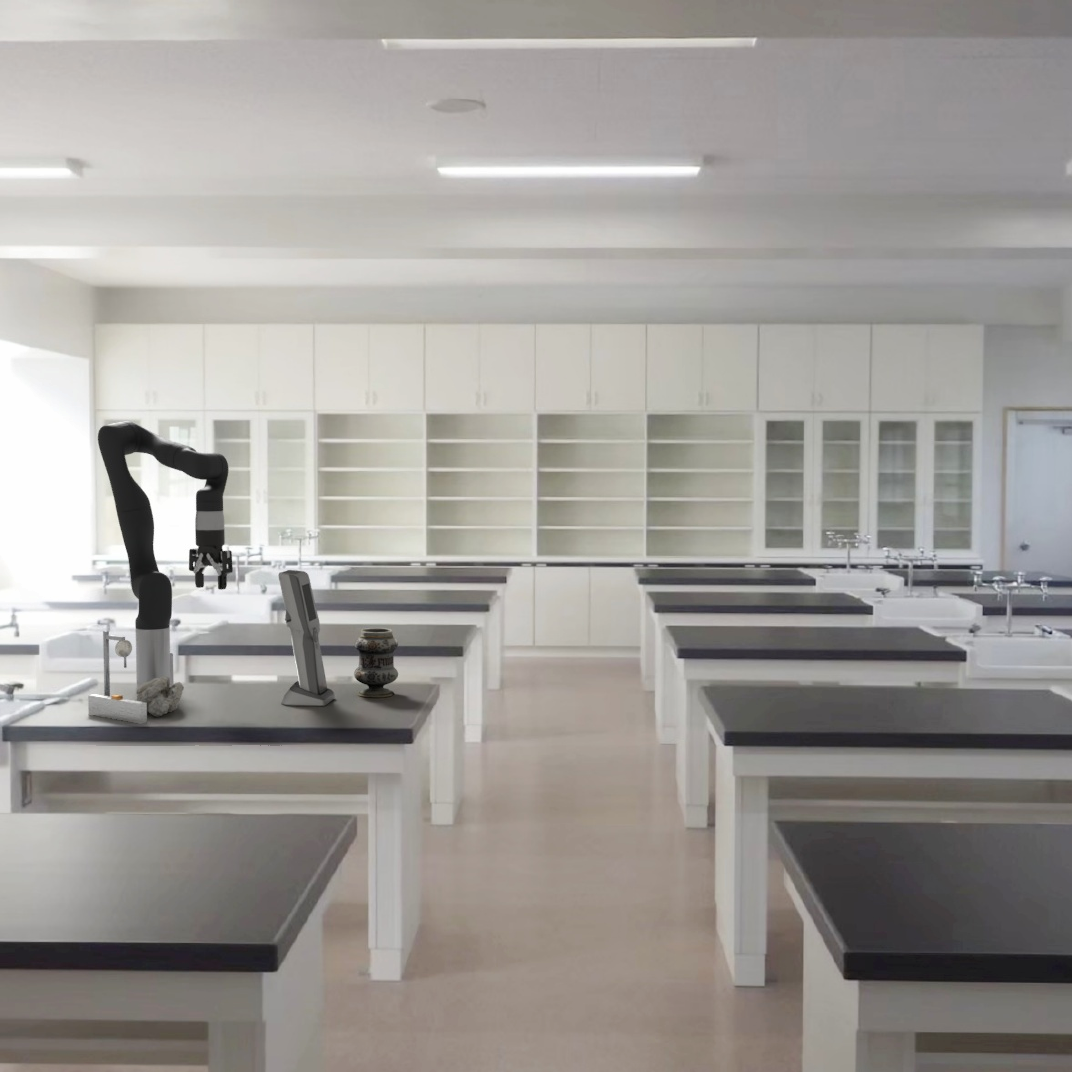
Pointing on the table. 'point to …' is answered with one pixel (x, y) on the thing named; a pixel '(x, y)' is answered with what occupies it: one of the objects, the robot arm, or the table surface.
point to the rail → (118, 708)
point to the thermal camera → (304, 642)
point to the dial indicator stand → (121, 650)
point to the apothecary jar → (376, 661)
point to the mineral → (160, 695)
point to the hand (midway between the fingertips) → (210, 588)
